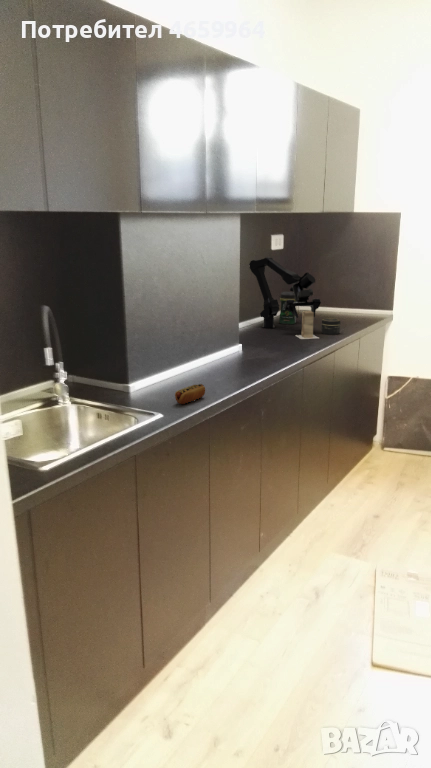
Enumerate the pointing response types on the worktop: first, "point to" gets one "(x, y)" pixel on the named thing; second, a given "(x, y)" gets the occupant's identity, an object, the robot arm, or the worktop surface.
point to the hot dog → (190, 393)
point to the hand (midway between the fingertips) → (306, 317)
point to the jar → (330, 326)
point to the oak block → (307, 324)
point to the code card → (306, 338)
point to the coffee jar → (286, 315)
